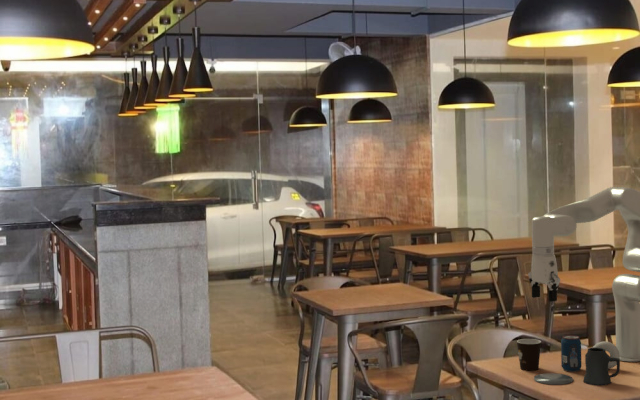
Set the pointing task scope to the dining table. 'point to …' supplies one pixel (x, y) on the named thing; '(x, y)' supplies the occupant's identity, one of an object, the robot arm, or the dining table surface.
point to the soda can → (571, 353)
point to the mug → (599, 367)
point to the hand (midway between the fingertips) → (544, 299)
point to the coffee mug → (529, 354)
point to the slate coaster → (553, 379)
